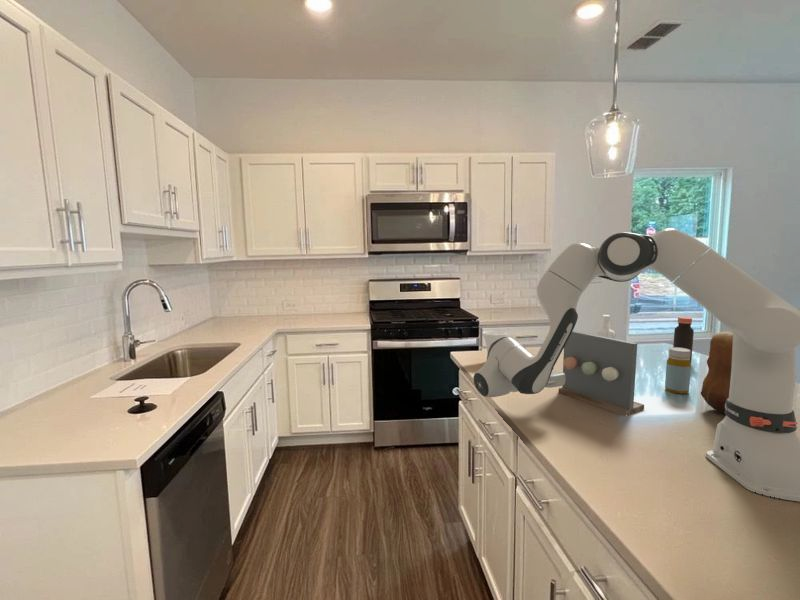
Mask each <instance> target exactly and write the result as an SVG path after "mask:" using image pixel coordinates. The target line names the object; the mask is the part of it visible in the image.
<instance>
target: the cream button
mask: <svg viewBox="0 0 800 600" xmlns="http://www.w3.org/2000/svg"><path fill="white" fill-rule="evenodd" d="M602 376H603V378H604V379H605V380H607V381H612V380H615V379H617V378H618V377H619V372H618V370H617V369H616V368H615V367H608V368H604V369H603V370H602Z"/></svg>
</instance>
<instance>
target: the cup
mask: <svg viewBox="0 0 800 600" xmlns="http://www.w3.org/2000/svg"><path fill="white" fill-rule="evenodd" d="M482 335H483V339H484V342H485V346H486V347H485V348H486V353H487V355H488V350H489V348H490V346H491V344H492V343H493V342H494V341H496V340H498V339H500V338H503V337H507V335H508V332H506V331H503V330H496V329H495V330H494V329H493V330H491V329H490V330H488V329H487V330H483V331H482Z"/></svg>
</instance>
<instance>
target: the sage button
mask: <svg viewBox="0 0 800 600" xmlns="http://www.w3.org/2000/svg"><path fill="white" fill-rule="evenodd" d="M597 370H598V367H597V365H596V363H594V362H592V361H590V362H586V363H583V365H582V371H583V372H584V373H585V374H586V375H591V374H595V373H596V372H597Z"/></svg>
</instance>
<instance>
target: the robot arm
mask: <svg viewBox="0 0 800 600" xmlns="http://www.w3.org/2000/svg"><path fill="white" fill-rule="evenodd" d="M644 270H649V271H650V270H651V271H655V272H656V273H659V274H660V275H662V276H663V277H665V278H666V279H667V280H668V281H669V282H671V283H672V284H673V285H674V286H676V287H677V288H678V289H679V290H681V291H682V292H683V293H685V294H686V295H688V297H689V298H691V299H692V300H693V301H695V302H697V304H699V305H700V306H701V307H703V308H704V309H705V310H706V311H707V312H708V313H709V314H711V315H712V316H713V317H714V318H716V320H718V321H719V322H720V323H721V324H723V326H725V327H726V328H727V329H729V331H730V332H733V348H732V368H731V379H730V390H729V398H727V399H726V403H725V413H724V414H725V416H724V418H723V419H722V420H721V421H720V422H718V424H716V429H715V435H714V439H713V443H712V444H713V447H712V449H711V450H707V451H706V453H705V457H706V458H707V459H708V460H709V461H711V462H712V463H713V464H715V465H716V466H717V467H719V469H721V470H722V471H723V472H725V473H726V474H727V475H728V476H730V477H731V478H732V479H733V480H735V481H736V482H737V483H739V484H740V485H741V486H742V487H744V488H745V489H747V490H748V491H750V492H752V493H755V492H756V494H759V495H762V494H763V495H762V496H766V497H770V496H771V497H770V498H774V497H775V499H779V498H780V499H781V500H787V501H793V502H800V438H799V436H798V434H797V429H798V426H797V425H798V424H799V423H798V422H797V418H796V415H795V411H794V410H793V406H794V397H795V388H796V387H795V386H796V380H797V375H796V374H797V371H796V348H797V347H798V346H799V345H800V310H799V309H798V308H797V307H795V306H793V305H792V304H791V303H790V302H787V300H785V299H784V298H782V297H781V296H779V295H778V294H776V293H775V292H773V290H771V289H770V288H768V287H766V286H765V285H763V284H762V283H760V282H759V281H758V280H756V279H755V278H754V277H752V276H751V275H749V274H748V273H747V272H745V271H744V270H742V269H741V268H739V267H738V266H737V265H735V264H734V263H732V262H731V261H730V260H728V259H727V258H725V257H724V256H723V255H721V254H720V253H719V252H717V251H715V250H714V249H712V248H711V247H710V246H708V245H707V244H705V243H704V242H702V241H701V240H699V239H697V238H696V237H694V236H692V235H689V233H686V232H684V231H681V230H679V229H676V228H672V227H670V228H664V229H661V230H660V231H657V232H656V233H654V234H653V235H652V236H651V235H648V234H642V233H641V234H639V233H634V232H626V231H623V232H616V233H614V234H612V235H610V236H608V237H607V238H606V239H605V240H604V241H603V242H602V244H601V245H600V247H592V246H591V245H589V244H587V243H583V242H575V243H572V244H570V245H568V246H567V247H566V248H565V249H564V250H563V251H562V252H561V253H560V254H559V255H558V256H557V258H555V259H554V261H552V263H551V264H550V265H549V267H548V268H547V270H546V271H545V273H544V274H542V277H541V278H540V279H539V281H538V284H537V287H536V294H537V300H538V302H539V304H540V306H541V307H542V309H543V311H544V312H545V314H546V315H547V318H548V322H549V331H548V333H547V335H546V337H545V339H544V341H543V343H542V344H541V346H540V348H539V351H538V352H537V354H536V355H534V354H532V353H531V351H529V350H528V349H526V348H525V346H523V345H522V343H520V342H519V341H517V340H516V339H515V338H513V337H512V336H506V337H503V338H500V339H498V340H496V341H494V342H493V343H492V344H491V346H490V348H489V350H488V355H487V356H486V360H485V362H484V364H483V365H482V367H480V368H479V369H477V370H476V372H474V374H473V384H474V387H475V389H476V390H477V392H478V393H479V395H481V396H482V397H485V398H498V397H500V396H506V395H509V394H510V393H517V392H518V393H520V394H523V395H524V394H525V395H535V394H539V393H540V392H542V391H543V390H544V389H545V388H548V389H549V388H557V387H562V386H563V385H564V384H565V373H563V371H560V370H555V369H554V367H555V365H556V364H557V361H558V360H559V358H560V356H561V354H562V353H563V351H564V347H565V345H566V343H567V341H568V339H569V337H570V335H571V333H572V331H574V328H575V326H576V324H577V321H578V317H579V316H578V315H579V314H578V312H577V306H578V303H579V300H580V297H581V296H582V294H583V293H584V292H585V290H586V289H587V287H588V286H589V285H590V283H591V282H593V281H594V280H595V279H596V278H602V279H605V280H608V281H612V282H617V283H618V282H619V283H620V282H622V283H623V282H628V281H629V282H630V281H631V280H635V278H637V277H638V276H639V275H640V274H641V273H642V272H643V271H644Z"/></svg>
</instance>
